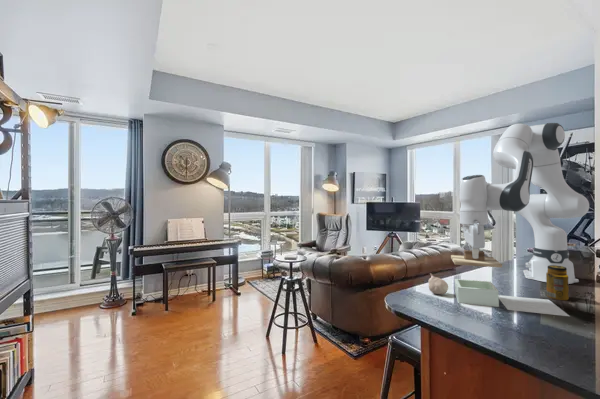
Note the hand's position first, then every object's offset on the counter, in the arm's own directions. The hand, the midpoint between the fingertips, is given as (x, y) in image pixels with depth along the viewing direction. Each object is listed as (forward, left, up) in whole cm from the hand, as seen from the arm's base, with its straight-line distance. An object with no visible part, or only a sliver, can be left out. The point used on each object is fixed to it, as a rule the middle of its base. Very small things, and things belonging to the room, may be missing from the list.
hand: (474, 257), depth 105 cm
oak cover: (0, 0, -2) cm, 2 cm away
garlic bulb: (-4, -12, -16) cm, 21 cm away
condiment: (-11, +27, -16) cm, 34 cm away
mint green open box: (0, 0, -16) cm, 16 cm away
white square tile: (0, +16, -16) cm, 23 cm away
